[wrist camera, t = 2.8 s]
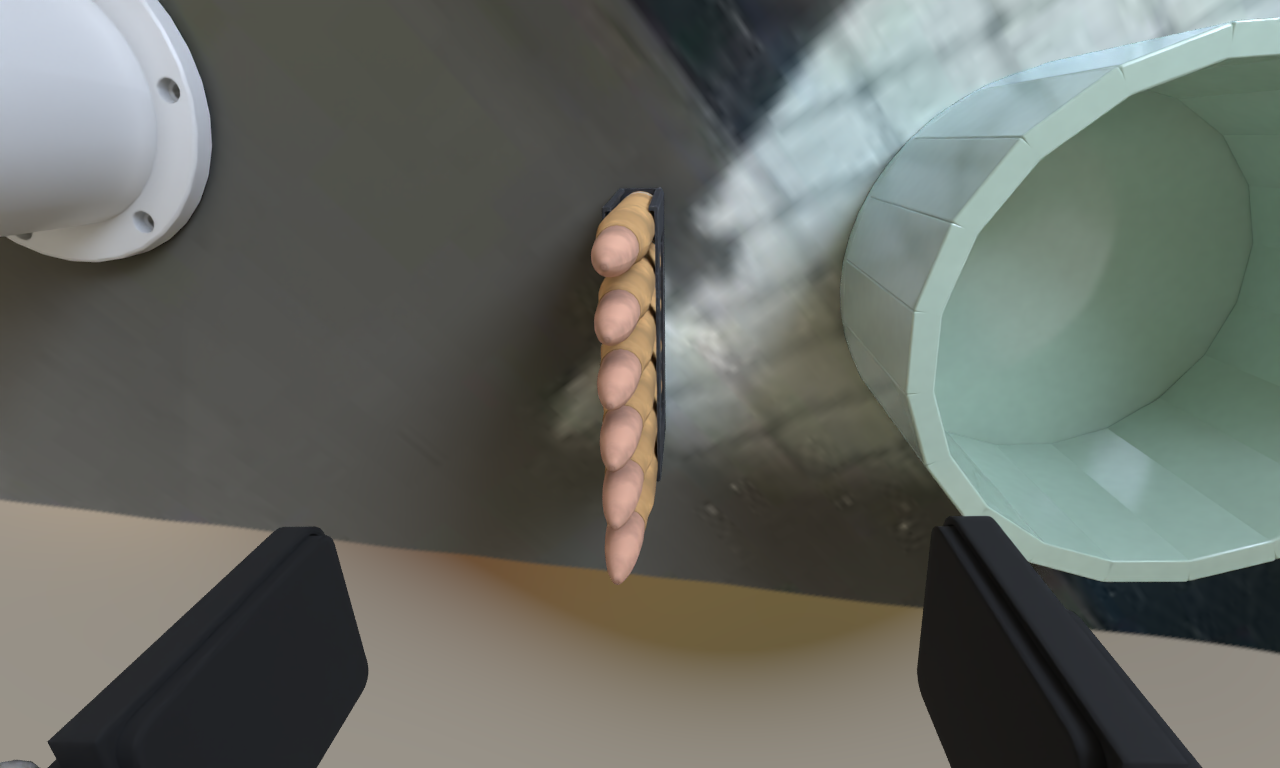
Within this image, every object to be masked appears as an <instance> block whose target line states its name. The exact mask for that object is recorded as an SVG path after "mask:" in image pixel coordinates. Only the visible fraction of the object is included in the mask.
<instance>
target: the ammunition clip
mask: <svg viewBox="0 0 1280 768" xmlns="http://www.w3.org/2000/svg"><path fill="white" fill-rule="evenodd" d="M591 261H592V264H593V267H594V269H595V270H596V271H597V272H598V273H599V274H600V275H602V276H604V277H605V279H604V280H603V282H602V284H601V287H600V290H599V293H598V295H599V303H598V306H597V310H596V313H595V318H594V326H595V332H596V335H597V337H598V339H599V341H600V342H601V343H602V346H601V363H600V370H599V373H598V379H597V390H598V396H599V399H600V402H601V404H602V405H603V408H604V415H603V424H602V427H601V432H600V451H601V456H602V460H603V462H604V464H605V466H606V468H605V478H604V483H603V510H604V514H605V518H606V521H607V530H606V536H605V558H606V565H607V570H608V573H609V576H610V578H611V580H612V581H613V583H614V584H617V585H618V584H621V583H622V582H623V581H624V580H625V579H626V578H627V577H628V576H629V574H630V573H631V571H632V569H633V568H634V565H635V563H636V561H637V558H638V556H639V553H640V550H641V547H642V543H643V537H644V531H645V529H646V524H647V519H648V516H649V514H650V512H651V509H652V507H653V504H654V498H655V489H656V481H660V480H661V472H662V461H663V451H664V440H665V289H664V192H663V190H662V188H627V189H619V190H618V191H617V192H616V193H615V195H614V196H613V197H612V198H611V199H610V200H609V201H608V202H607V203H606V204H605V205H604V206H603V208H602V222H601V223H600V225H599V227H598V230H597V233H596V240H595V241H594V244H593V247H592V251H591Z"/></svg>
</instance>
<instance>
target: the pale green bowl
mask: <svg viewBox="0 0 1280 768" xmlns="http://www.w3.org/2000/svg"><path fill="white" fill-rule="evenodd" d="M840 300H841V316H842V322H843V328H844V334H845V337H846V341H847V344H848V347H849V350H850V353H851V356H852V358H853V360H854V362H855V364H856V366H857V370H858V373H859V374H860V377H861V378H862V380H863V381H864V382H865V384H866V385H867V387H868V388H869V389H870V391H871V392H872V394H873V395H874V396H875V398H876V399H877V401H878V402H879V403H880V405H881V406H882V407H883V409H884V410H885V412H886V413H887V414H888V416H889V417H890V419H891V420H892V421H893V423H894V424H895V426H896V427H897V428H898V430H899V431H900V432H901V434H902V435H903V437H904V438H905V439H906V441H907V442H908V444H909V445H910V446H911V448H912V449H913V451H914V452H915V453H916V455H917V456H918V457H919V459H920V460H921V462H922V463H923V464H924V466H925V467H926V469H927V470H928V471H929V473H930V474H931V475H932V477H933V478H934V479H935V481H936V482H937V483H938V485H939V486H940V487H941V489H942V490H943V491H944V493H945V494H946V495H947V497H948V498H949V499H950V501H951V502H952V503H953V505H954V506H955V507H956V508H957V510H958V511H959V512H960V514H961V515H962V516H990V517H992V518H993V519H994V520H995V521H996V522H997V523H998V524H999V526H1000V527H1001V528H1002V530H1003V531H1004V532H1005V533H1006V535H1007V536H1008V537H1009V538H1010V540H1011V541H1012V542H1013V543H1014V545H1015V546H1016V547H1017V548H1018V550H1019V551H1020V552H1021V553H1022V555H1023V556H1024V557H1025V558H1026V560H1027V561H1028V562H1030V563H1034V564H1037V565H1041V566H1045V567H1049V568H1052V569H1056V570H1060V571H1064V572H1068V573H1071V574H1075V575H1079V576H1083V577H1086V578H1090V579H1094V580H1098V581H1101V582H1103V581H1104V582H1187V581H1191V580H1195V579H1200V578H1204V577H1208V576H1212V575H1217V574H1221V573H1225V572H1229V571H1234V570H1238V569H1242V568H1246V567H1250V566H1255V565H1259V564H1263V563H1267V562H1272V561H1274V560H1275V559H1280V17H1277V18H1264V19H1251V20H1238V21H1232V22H1227V23H1223V24H1218V25H1214V26H1209V27H1205V28H1200V29H1195V30H1191V31H1186V32H1182V33H1177V34H1173V35H1168V36H1164V37H1159V38H1154V39H1150V40H1145V41H1141V42H1136V43H1132V44H1127V45H1123V46H1118V47H1114V48H1109V49H1104V50H1100V51H1095V52H1091V53H1086V54H1082V55H1077V56H1073V57H1068V58H1063V59H1059V60H1054V61H1050V62H1047V63H1044V64H1042V65H1039V66H1037V67H1034V68H1032V69H1029V70H1026V71H1022V72H1018V73H1015V74H1012V75H1010V76H1007V77H1005V78H1002V79H1000V80H997V81H995V82H993V83H990V84H988V85H985V86H983V87H982V88H980V89H978V90H976V91H974V92H973V93H971V94H969V95H967V96H965V97H964V98H962V99H960V100H958V101H957V102H955V103H954V104H952V105H951V106H950V107H948V108H947V109H945V110H944V111H943V112H941V113H940V114H939V115H937V116H936V117H934V118H933V119H932V120H931V121H929V122H928V123H927V124H926V125H925V126H924V127H923V128H922V129H921V130H919V131H918V132H917V133H916V134H915V135H914V136H913V137H912V138H911V139H910V140H909V141H908V142H907V143H906V144H905V145H904V146H903V147H902V149H901V150H900V151H899V152H898V153H897V154H896V155H895V156H894V158H893V159H892V160H891V161H890V162H889V164H888V165H887V166H886V168H885V169H884V171H883V172H882V174H881V175H880V176H879V178H878V179H877V181H876V182H875V184H874V185H873V187H872V188H871V190H870V192H869V194H868V196H867V198H866V200H865V202H864V203H863V205H862V207H861V209H860V211H859V213H858V216H857V219H856V221H855V224H854V226H853V229H852V231H851V234H850V237H849V241H848V245H847V249H846V253H845V257H844V260H843V267H842V276H841V285H840Z"/></svg>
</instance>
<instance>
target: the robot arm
mask: <svg viewBox="0 0 1280 768" xmlns="http://www.w3.org/2000/svg"><path fill="white" fill-rule="evenodd" d="M211 152H212V138H211V122H210V113H209V109H208V104H207V100H206V96H205V91H204V87H203V83H202V80H201V78H200V75H199V73H198V70H197V68H196V65H195V63H194V60H193V58H192V55H191V53H190V50H189V48H188V46H187V45H186V43H185V41H184V39H183V38H182V36H181V34H180V32H179V31H178V29H177V27H176V26H175V24H174V22H173V20H172V19H171V17H170V15H169V14H168V13H167V12H166V10H165V9H164V8H163V7H162V5H161V4H160V3H159V1H158V0H0V237H3V236H5V237H7V238H9V239H10V240H12V241H14V242H15V243H17V244H20V245H22V246H25V247H27V248H29V249H32V250H34V251H36V252H39V253H41V254H44V255H48V256H52V257H56V258H60V259H65V260H69V261H80V262H103V261H109V260H115V259H121V258H127V257H130V256H134V255H137V254H141V253H144V252H148V251H150V250H152V249H154V248H156V247H157V246H159V245H161V244H163V243H164V242H166V241H168V240H170V239H171V238H172V237H173V236H174V235H175V234H176V233H177V232H178V231H179V230H180V229H181V228H182V227H183V226H184V225H185V224H186V223H187V222H188V220H189V218H190V217H191V215H192V214H193V212H194V210H195V209H196V207H197V205H198V204H199V202H200V200H201V197H202V194H203V191H204V188H205V185H206V182H207V179H208V176H209V169H210V160H211ZM917 675H918V683H919V688H920V692H921V695H922V697H923V700H924V702H925V705H926V707H927V710H928V712H929V714H930V717H931V719H932V722H933V724H934V727H935V729H936V732H937V734H938V736H939V739H940V741H941V744H942V746H943V748H944V751H945V753H946V756H947V758H948V761H949V763H950V766H951V768H1202V767H1201V766H1200V764H1199V763H1198V762H1197V761H1196V759H1195V758H1194V757H1193V756H1192V754H1191V753H1190V752H1189V751H1188V750H1187V748H1186V747H1185V746H1184V745H1183V744H1182V742H1181V741H1180V740H1179V738H1178V737H1177V736H1176V735H1175V734H1174V732H1173V731H1172V730H1171V729H1170V727H1169V726H1168V725H1167V724H1166V722H1165V721H1164V720H1163V719H1162V718H1161V717H1160V715H1159V714H1158V713H1157V711H1156V710H1155V709H1154V708H1153V706H1152V705H1151V704H1150V703H1149V702H1148V700H1147V699H1146V698H1145V697H1144V696H1143V694H1142V693H1141V692H1140V690H1139V689H1138V688H1137V687H1136V686H1135V684H1134V683H1133V682H1132V681H1131V680H1130V678H1129V677H1128V676H1127V674H1126V673H1125V672H1124V671H1123V669H1122V668H1121V667H1120V666H1119V665H1118V663H1117V662H1116V661H1115V660H1114V658H1113V657H1112V656H1111V655H1110V653H1109V652H1108V651H1107V650H1106V649H1105V647H1104V646H1103V645H1102V644H1101V643H1100V641H1099V640H1098V639H1097V637H1095V635H1094V634H1093V633H1092V631H1091V630H1090V629H1089V628H1088V626H1087V625H1086V624H1085V623H1084V621H1083V620H1082V619H1081V618H1080V617H1079V616H1077V615H1076V614H1075V613H1074V612H1072V611H1070V610H1068V609H1065V607H1064V606H1063V605H1062V604H1061V602H1060V601H1059V600H1058V599H1057V597H1056V596H1055V595H1054V594H1053V592H1052V591H1051V590H1050V589H1049V587H1048V586H1047V585H1046V584H1045V582H1044V581H1043V580H1042V579H1041V577H1040V576H1039V575H1038V573H1037V572H1036V571H1035V570H1034V568H1033V567H1032V566H1031V565H1030V563H1029V562H1028V561H1027V560H1026V558H1025V557H1024V556H1023V555H1022V553H1021V552H1020V551H1019V550H1018V548H1017V547H1016V546H1015V545H1014V543H1013V542H1012V541H1011V540H1010V538H1009V537H1008V536H1007V535H1006V533H1005V532H1004V531H1003V530H1002V528H1001V527H1000V526H999V524H998V523H997V522H996V521H995V520H994V519H993V518H992V517H990V516H949V517H948V518H946V520H945V522H944V526H940V527H934V528H933V530H932V534H931V542H930V551H929V561H928V570H927V580H926V589H925V599H924V608H923V619H922V628H921V637H920V648H919V657H918V667H917ZM367 678H368V663H367V659H366V656H365V653H364V649H363V645H362V642H361V638H360V634H359V631H358V627H357V624H356V620H355V616H354V613H353V609H352V605H351V602H350V598H349V595H348V591H347V587H346V584H345V580H344V577H343V573H342V569H341V566H340V562H339V558H338V555H337V551H336V548H335V544H334V542H333V540H332V538H331V537H329V536H327V535H325V534H324V532H323V531H322V530H321V529H320V528H318V527H282V528H279V529H277V530H276V531H274V532H273V533H272V534H271V535H270V536H269V537H268V538H266V539H265V540H264V541H263V542H262V543H261V544H260V545H259V546H258V547H257V548H256V549H255V550H254V551H252V552H251V553H250V554H249V555H248V556H247V557H246V558H245V559H244V560H243V561H242V562H241V563H240V564H238V565H237V566H236V567H235V568H234V569H233V570H232V571H231V572H230V573H229V574H228V575H227V576H226V577H224V578H223V579H222V580H221V581H220V582H219V583H218V584H217V585H216V586H215V587H214V588H213V589H211V590H210V592H208V593H207V594H206V595H205V596H204V597H203V598H202V599H201V600H200V601H199V602H198V603H196V604H195V605H194V606H193V607H192V608H191V609H190V610H189V611H188V612H187V613H186V614H185V615H184V616H182V617H181V618H180V619H179V620H178V621H177V622H176V623H175V624H174V625H173V626H172V627H171V628H170V629H168V630H167V631H166V632H165V633H164V634H163V635H162V636H161V637H160V638H159V639H158V640H157V641H156V642H154V643H153V644H152V645H151V646H150V647H149V648H148V649H147V650H146V651H145V652H144V653H143V654H141V655H140V657H138V658H137V659H136V660H135V661H134V662H133V663H132V664H131V665H130V666H129V667H127V668H126V670H124V671H123V672H122V673H121V674H120V675H119V676H118V677H117V678H116V679H115V680H113V681H112V682H111V683H110V684H109V685H108V686H107V687H106V688H105V689H104V690H103V691H102V692H101V693H99V694H98V695H97V696H96V697H95V698H94V699H93V700H92V701H91V702H90V703H89V704H88V705H87V706H85V707H84V708H83V709H82V710H81V711H80V712H79V713H78V714H77V715H76V716H75V717H74V718H73V719H71V721H69V722H68V723H67V724H66V725H65V726H64V727H63V728H62V729H61V730H60V731H59V732H57V733H56V734H55V735H54V736H53V737H52V738H51V739H50V740H49V741H48V744H49V746H50V748H51V749H52V751H53V753H54V755H55V757H56V760H55V761H54V762H53V763H52V764H51V765H50V766H49V767H48V768H317V766H318V765H319V763H320V761H321V760H322V758H323V756H324V754H325V753H326V751H327V749H328V748H329V746H330V745H331V743H332V741H333V740H334V738H335V736H336V735H337V733H338V732H339V730H340V728H341V727H342V725H343V723H344V722H345V720H346V718H347V717H348V715H349V713H350V711H351V710H352V708H353V706H354V705H355V703H356V702H357V700H358V698H359V697H360V695H361V693H362V691H363V690H364V688H365V685H366V682H367ZM0 768H39V767H38V766H37V765H36V764H34V763H33V762H31V761H22V760H13V761H7V762H1V763H0Z"/></svg>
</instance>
